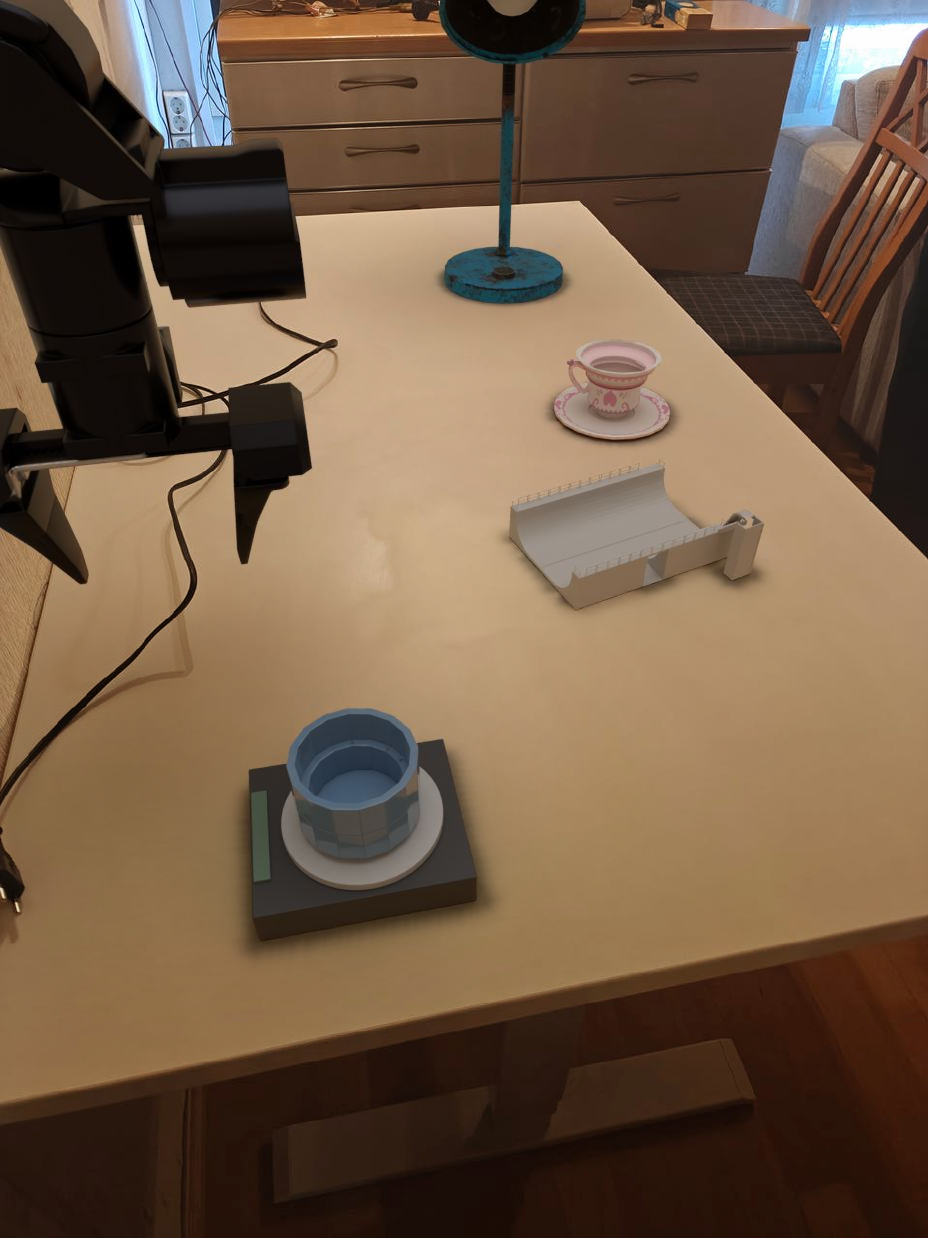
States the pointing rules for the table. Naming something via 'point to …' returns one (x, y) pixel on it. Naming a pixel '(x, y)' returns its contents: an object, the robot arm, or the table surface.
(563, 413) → the teacup
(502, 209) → the desk lamp
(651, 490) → the skate ramp
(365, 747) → the bowl
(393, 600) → the table surface
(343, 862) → the scale
